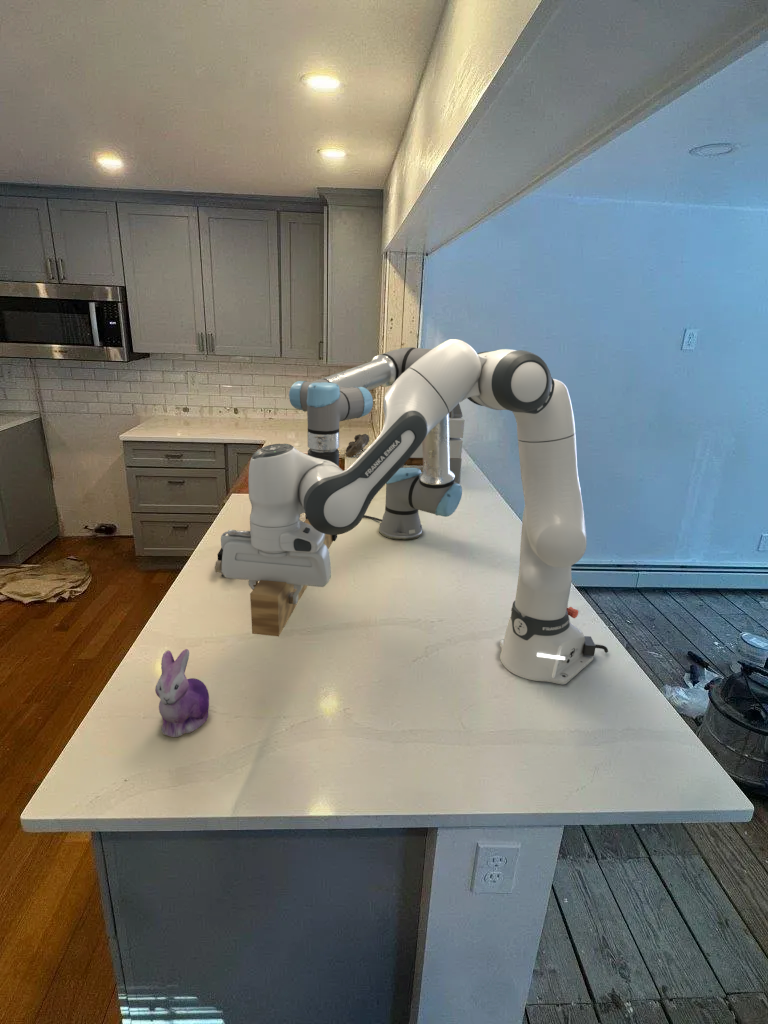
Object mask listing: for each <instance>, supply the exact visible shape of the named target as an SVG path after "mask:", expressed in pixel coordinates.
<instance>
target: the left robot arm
mask: <svg viewBox="0 0 768 1024" xmlns="http://www.w3.org/2000/svg"><path fill="white" fill-rule="evenodd" d="M432 349H433V348H424V347H423V348H422V347H413V346H412V347H411V346H408V347H401V348H396V349H394V350H389V351H386V352H383V353H381V354H377V355H375V356H374V357H373V358H372V359H371V361H368V362H365V363H362V364H361V365H356V366H353V367H352V368H347V369H345V370H343V371H340V372H336V373H334V374H331V375H328V376H326V377H321V378H319V379H316V380H313V381H307V380H297V381H296V382H293V383H292V385H291V386H290V388H289V391H288V399H289V402H290V405H291V406H292V407H293V408H294V409H296V410H299V411H302V412H307V413H306V414H307V415H306V417H307V419H306V420H307V448H308V450H307V455H309V456H312V457H315V458H319V459H324V460H329V461H331V462H333V463H335V464H336V465H337V466H339V467H340V450H339V448H340V422H344V421H349V420H355V419H360V418H362V417H365V416H367V415H369V414H370V412H371V411H372V409H373V407H374V406H373V405H374V404H373V403H374V400H373V395H372V393H371V392H370V391H371V390H374V389H376V388H379V387H382V388H388V387H391V385H392V384H393V383H394V382H395V381H396V379H397V378H398V377H399V376H400V375H401V374H402V373H403V372H405V371H406V370H407V369H408V368H409V367H410V366H411V365H412V364H414V363H415V362H416V361H417V360H418V359H420V358H421V357H422V356H424V355H425V354H426V353H428V352H429V351H430V350H432ZM422 446H423V466H422V467H423V470H421V469H420V468H418V467H404V468H400V469H399V470H398V471H397V472H396V473H395V474H394V475H393V476H392V477H391V478H390V480H389V481H388V482H387V483H386V484H385V504H384V505H385V507H384V508H385V509H384V513H383V515H382V519H381V518H378V517H375V516H370V515H364V517H363V518H365V519H366V518H367V519H371V520H374V521H378V522H379V526H378V533H379V534H380V535H381V536H382V537H385V538H387V539H389V540H395V541H410V540H415V539H418V538H420V537H421V536H422V535H423V525H422V524H421V518H420V515H419V511H421V512H425V513H429V514H431V515H432V514H433V515H435V516H440V517H450V516H452V515H453V514H454V513H455V512H456V510H457V509H458V507H459V504H460V503H461V500H462V495H463V487H462V485H461V484H459V483H455V475H454V473H453V472H452V471H450V439H449V413H448V414H447V415H446V416H445V417H444V418H443V419H442V420H441V421H440V422H439V423H438V424H437V425H436V426H435V427H434V428H433V429H432V430H431V431H430V432H429V433H428V435H427V436H426V437H425V439H424V440H423V442H422ZM304 515H305V520H306V519H307V516H306V513H304ZM337 539H338V535H332V541H333V542H336V541H337Z"/></svg>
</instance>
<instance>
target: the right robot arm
mask: <svg viewBox="0 0 768 1024" xmlns="http://www.w3.org/2000/svg"><path fill="white" fill-rule="evenodd" d="M431 349H432V350H430V351H429V352H428V353H426V354H425V355H424V356H422V357H421V358H420V359H418V360H417V361H416V362H415V363H414V364H412V365H411V366H410V367H409V368H408V369H407V370H406V371H405V372H403V373H402V374H401V375H400V376H399V377H398V378H397V379H396V381H395V382H394V383H393V384H392V385H391V386H389V388H388V389H387V391H386V392H385V394H384V396H383V402H382V403H383V404H382V405H383V406H382V407H383V415H384V422H383V427H382V429H381V431H380V433H379V435H377V437H376V438H375V439H374V440H373V442H371V443H370V445H369V446H368V447H367V448H366V449H365V450H363V451H364V452H363V451H362V453H361V454H360V455H359V456H358V457H357V458H356V460H354V462H353V463H351V465H350V466H349V467H347V468H346V469H344V470H343V469H342V468H341V467H340V465H339V466H337V465H336V464H335V463H333V462H331V461H329V460H324V459H319V458H315V457H312V456H309V455H308V453H307V454H306V453H305V452H302V451H301V450H299V449H298V448H296V447H295V446H294V445H292V444H289V443H273V444H268V445H265V446H263V447H260V448H259V449H257V450H256V451H255V452H254V453H252V455H251V458H250V460H249V465H248V478H247V479H248V481H247V484H248V499H249V502H250V505H251V510H250V514H249V530H236V529H228V530H227V531H225V532H223V533H222V534H221V535H220V548H222V549H223V555H222V571H221V575H222V574H223V575H224V577H225V578H226V579H234V580H244V581H248V586H249V587H250V589H251V591H253V589H254V588H255V587H256V585H257V584H258V583H259V581H260V580H265V581H276V582H286V583H287V584H294V589H297V590H296V591H295V592H291V593H290V595H289V596H288V598H289V604H297V602H298V594H299V592H300V591H301V589H302V587H303V586H304V585H306V586H307V587H317V588H324V587H326V586H327V585H328V583H329V582H330V580H331V577H332V564H331V556H330V550H329V549H328V548H327V546H326V545H325V544H324V543H323V542H324V539H325V534H328V535H337V536H338V535H343V534H346V533H348V532H350V531H352V530H353V529H354V528H356V527H357V526H358V525H359V524H360V523H361V521H362V520H363V519H364V518H365V517H364V515H365V514H366V513H367V511H368V509H369V506H370V505H371V503H372V501H373V500H374V498H375V496H377V494H378V493H379V492H380V491H381V490H382V488H383V487H384V486H386V483H387V482H388V481H389V480H390V478H391V477H392V476H393V475H394V474H395V473H396V472H397V471H398V470H399V469H400V468H401V467H402V465H403V464H404V463H405V462H406V461H407V460H408V459H409V458H410V457H411V456H412V454H413V453H414V452H415V451H416V450H417V448H418V447H419V446H420V445H421V443H422V442H423V440H424V439H425V437H426V436H427V435H428V433H429V432H430V431H431V430H432V429H433V428H434V427H435V426H436V425H437V424H438V423H439V422H440V421H441V420H442V419H443V418H444V417H445V416H446V415H447V414H448V413H449V412H451V411H452V410H453V409H454V408H455V407H456V406H457V405H458V404H459V405H460V403H461V402H463V401H464V400H466V399H467V400H469V402H472V403H473V404H475V405H477V406H480V407H485V408H488V409H491V410H495V411H510V412H512V414H513V416H514V418H515V423H516V435H517V445H518V458H519V469H520V479H521V486H522V492H523V499H524V507H523V512H522V521H521V534H520V545H519V546H520V548H519V549H520V550H519V567H518V577H517V584H516V592H515V599H514V600H513V602H512V606H511V610H510V611H511V613H510V616H509V618H508V621H507V626H506V630H505V633H504V637H503V638H502V639H501V640H500V643H499V645H500V649H501V651H500V655H499V660H500V662H501V664H502V665H503V667H505V669H506V670H507V671H508V672H510V673H512V674H514V675H516V676H518V677H520V678H522V679H525V680H530V681H535V682H549V683H553V684H557V685H563V686H564V685H567V684H568V683H569V682H571V680H572V679H574V678H575V677H576V676H577V675H578V674H579V673H580V672H581V671H582V670H584V669H585V668H586V667H587V666H588V665H590V663H592V662H593V661H594V657H595V653H596V649H600V650H603V651H604V652H605V654H607V653H608V652H609V648H608V647H607V646H606V645H603V644H596V643H595V641H594V640H593V638H592V636H587V635H585V634H584V633H583V631H582V630H581V629H580V628H578V627H577V626H576V625H574V624H573V623H572V622H571V621H570V618H572V619H576V618H577V617H578V615H579V610H578V609H576V608H574V607H572V606H570V607H568V605H569V599H570V593H571V587H572V580H573V576H572V566H574V565H575V564H577V563H578V562H579V561H580V560H581V559H582V558H583V557H584V555H585V554H586V551H587V546H588V545H587V542H588V541H587V540H588V539H587V530H586V528H587V527H586V519H585V512H584V503H583V497H582V491H581V484H580V479H579V468H578V456H577V453H578V452H577V437H576V435H577V434H576V423H575V415H574V410H573V405H572V400H571V397H570V393H569V389H568V387H567V386H566V384H565V383H564V382H563V381H561V380H558V379H556V378H553V377H552V374H551V371H550V368H549V367H548V365H547V363H546V362H545V360H543V358H541V357H540V356H539V355H538V354H535V353H534V352H531V351H528V350H523V349H517V350H516V349H509V348H501V349H496V350H493V351H491V350H489V351H488V350H487V351H486V350H485V351H480V352H477V351H476V350H475V349H474V347H472V346H471V345H470V344H469V343H467V342H465V341H464V340H461V339H458V338H450V339H447V340H445V341H443V342H441V343H440V344H438V345H437V346H435V347H433V348H431ZM305 513H306V514H305ZM302 514H305V517H306V516H307V519H308V521H309V523H310V524H311V525H310V524H307V523H305V521H303V520H301V519H300V517H301V515H302ZM298 603H299V602H298ZM297 605H298V604H297ZM569 616H570V617H569Z"/></svg>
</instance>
